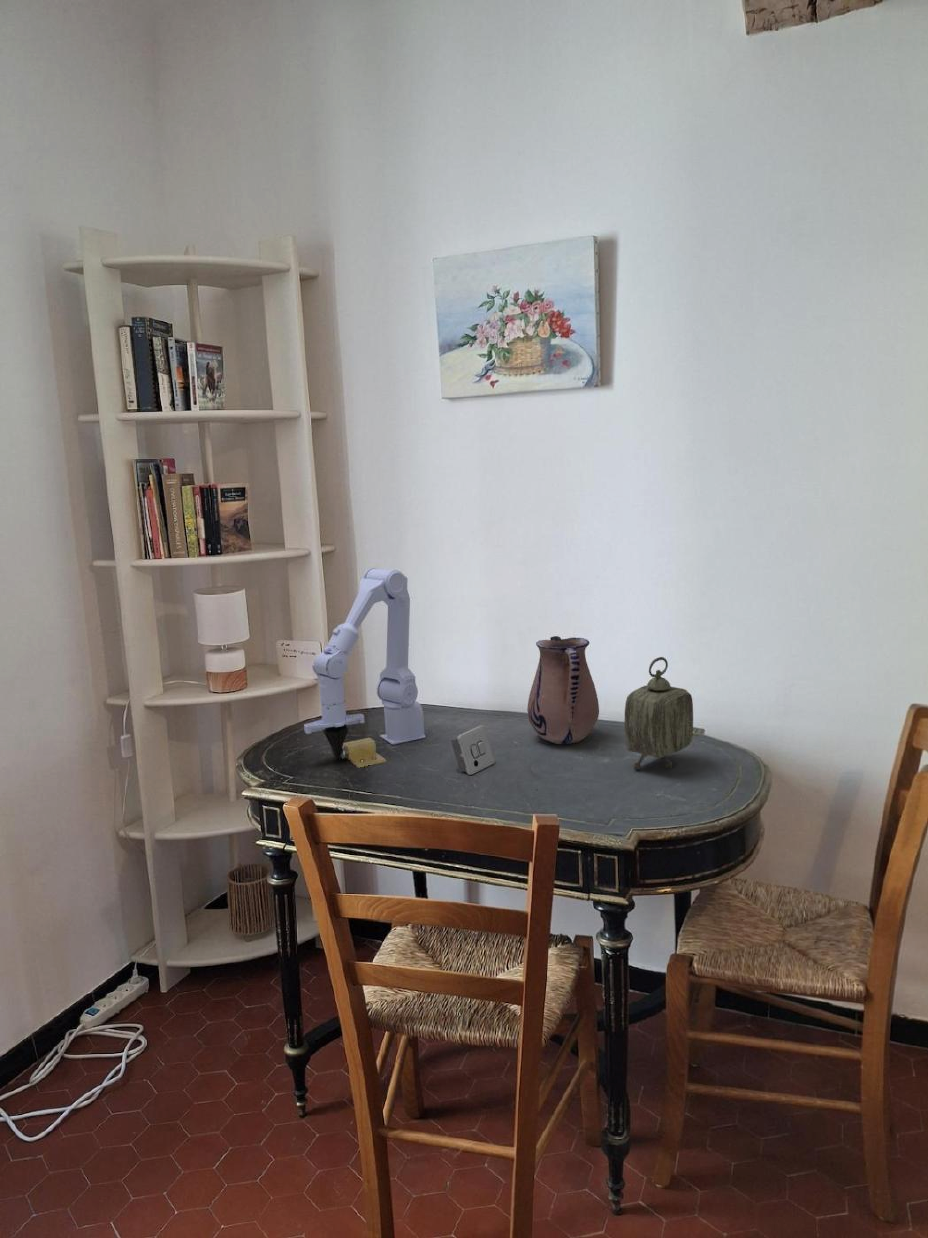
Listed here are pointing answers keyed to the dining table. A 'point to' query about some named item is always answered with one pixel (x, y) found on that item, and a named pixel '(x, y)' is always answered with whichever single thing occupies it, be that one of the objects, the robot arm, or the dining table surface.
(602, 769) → the dining table surface
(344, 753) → the hinge pin
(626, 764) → the dining table surface
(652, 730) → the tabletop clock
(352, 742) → the hinge leaves
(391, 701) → the robot arm
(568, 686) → the ceramic pitcher
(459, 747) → the electrical switch
